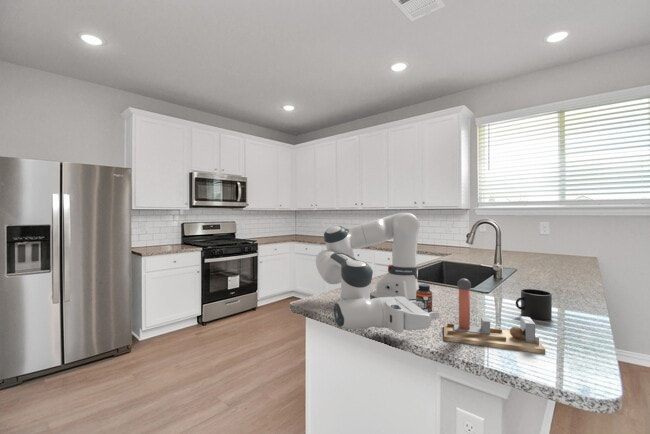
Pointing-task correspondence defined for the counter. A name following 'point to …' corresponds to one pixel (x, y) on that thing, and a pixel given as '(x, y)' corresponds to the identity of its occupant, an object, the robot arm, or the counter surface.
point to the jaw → (529, 331)
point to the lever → (468, 311)
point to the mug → (535, 304)
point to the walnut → (516, 332)
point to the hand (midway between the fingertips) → (430, 309)
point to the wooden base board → (491, 339)
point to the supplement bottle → (424, 297)
